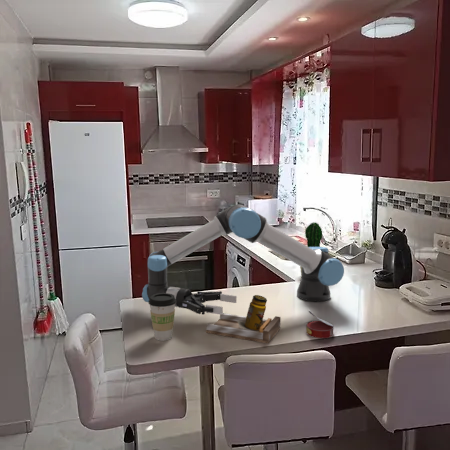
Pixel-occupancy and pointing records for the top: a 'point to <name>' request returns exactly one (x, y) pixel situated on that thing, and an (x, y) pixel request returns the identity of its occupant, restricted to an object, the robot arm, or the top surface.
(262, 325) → the latch
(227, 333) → the rail board
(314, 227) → the potted cactus
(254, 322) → the condiment
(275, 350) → the top surface
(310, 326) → the canned food
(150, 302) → the coffee cup
